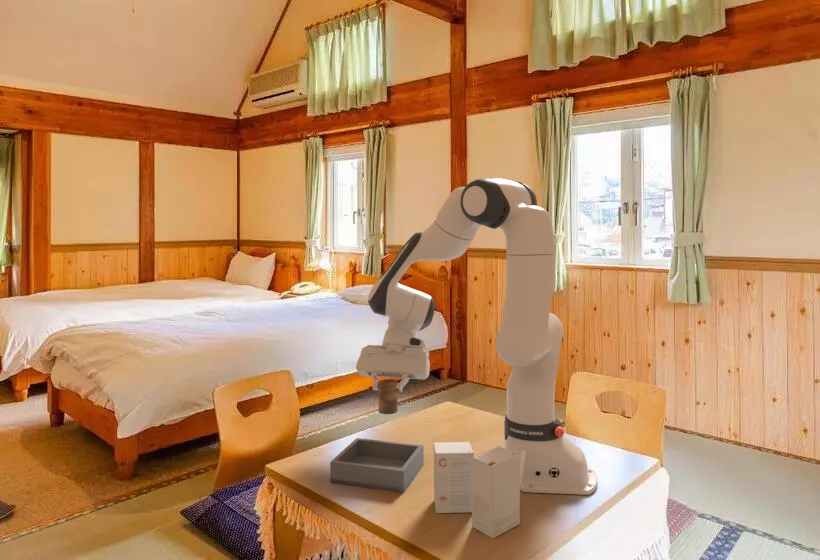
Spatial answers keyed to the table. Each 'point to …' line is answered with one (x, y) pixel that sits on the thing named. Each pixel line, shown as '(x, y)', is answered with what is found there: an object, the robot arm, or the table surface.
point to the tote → (377, 464)
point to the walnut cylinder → (387, 396)
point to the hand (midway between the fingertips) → (386, 390)
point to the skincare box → (495, 491)
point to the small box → (453, 477)
